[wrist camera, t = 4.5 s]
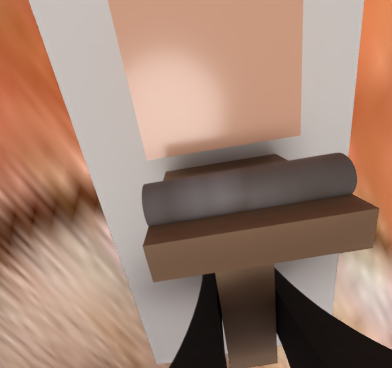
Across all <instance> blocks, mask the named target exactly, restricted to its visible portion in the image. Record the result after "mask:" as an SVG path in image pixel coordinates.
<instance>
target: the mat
mask: <svg viewBox="0 0 392 368" xmlns="http://www.w3.org/2000/svg"><path fill="white" fill-rule="evenodd" d="M29 2H30V5H31V8H32V11H33V14H34V16H35V19H36V22H37V25H38V28H39V31H40V34H41V36H42V39H43V42H44V45H45V48H46V51H47V53H48V56H49V59H50V62H51V65H52V68H53V70H54V73H55V76H56V79H57V82H58V85H59V88H60V90H61V93H62V96H63V99H64V102H65V105H66V107H67V110H68V113H69V116H70V119H71V122H72V124H73V127H74V130H75V133H76V136H77V139H78V141H79V144H80V147H81V150H82V153H83V156H84V159H85V161H86V164H87V167H88V170H89V173H90V176H91V178H92V181H93V184H94V187H95V190H96V193H97V195H98V198H99V201H100V204H101V207H102V210H103V213H104V215H105V218H106V221H107V224H108V227H109V230H110V232H111V235H112V238H113V241H114V244H115V247H116V249H117V252H118V255H119V258H120V261H121V264H122V267H123V269H124V272H125V275H126V278H127V281H128V284H129V286H130V289H131V292H132V295H133V298H134V301H135V303H136V306H137V309H138V312H139V315H140V318H141V321H142V323H143V326H144V329H145V332H146V335H147V338H148V340H149V343H150V346H151V349H152V352H153V355H154V357H155V360H156V363H157V365H158V364H165V363H171V362H172V361H173V360H174V358H175V356H176V354H177V352H178V350H179V348H180V346H181V344H182V341H183V339H184V337H185V335H186V332H187V330H188V327H189V325H190V322H191V320H192V317H193V314H194V311H195V307H196V304H197V301H198V297H199V292H200V288H201V283H202V275H198V276H191V277H185V278H179V279H172V280H166V281H160V282H153V280H152V277H151V273H150V270H149V266H148V263H147V260H146V256H145V253H144V249H143V243H144V240H145V237H146V233H147V230H148V225H147V223H146V220H145V217H144V212H143V207H142V187H143V185H144V184H147V183H154V182H160V181H163V179H164V175H165V172H167V171H173V170H179V169H185V168H191V167H197V166H204V165H210V164H216V163H222V162H228V161H234V160H240V159H246V158H252V157H259V156H265V155H271V154H277V155H279V156H281V157H283V158H285V159H287V160H294V159H301V158H307V157H313V156H319V155H325V154H331V153H343V154H345V155H346V156H347V157H348V154H349V145H350V135H351V125H352V115H353V105H354V96H355V86H356V76H357V66H358V56H359V46H360V37H361V27H362V17H363V7H364V0H303V41H302V90H301V135H300V136H294V137H288V138H282V139H275V140H269V141H263V142H257V143H251V144H245V145H239V146H233V147H226V148H220V149H214V150H208V151H202V152H196V153H190V154H184V155H178V156H171V157H165V158H159V159H153V160H147V159H146V155H145V151H144V147H143V143H142V139H141V135H140V131H139V126H138V122H137V118H136V114H135V110H134V106H133V102H132V98H131V94H130V90H129V86H128V81H127V77H126V73H125V69H124V65H123V61H122V57H121V53H120V49H119V45H118V40H117V36H116V32H115V28H114V24H113V20H112V16H111V12H110V8H109V4H108V0H29ZM337 263H338V253H337V254H331V255H324V256H318V257H312V258H305V259H299V260H293V261H286V262H280V263H274V267H275V268H276V269H277V270H278V271H279V272H280V273H281V274H282V275H283V276H284V277H285V278H286V279H287V280H288V281H289V282H290V283H291V284H293V285H294V286H295V287H296V288H297V289H298V290H299V291H300V292H302V293H303V294H304V295H305V296H306V297H308V298H309V299H310V300H311V301H313V302H314V303H315V304H317V305H318V306H319V307H321V308H322V309H323V310H325V311H326V312H328V313H329V314H331V315H332V312H333V302H334V292H335V282H336V272H337ZM222 324H223V322H222ZM223 336H224V348H225V354H228V351H227V345H226V339H225V333H224V328H223ZM277 346H282V344H281V342H280V340H279V337H278V335H277Z"/></svg>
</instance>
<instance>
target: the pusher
mask: <svg viewBox="0 0 392 368" xmlns="http://www.w3.org/2000/svg"><path fill="white" fill-rule="evenodd" d="M356 184H357V175H356V170H355V167H354V165H353V163H352V161H351V160H350V159H349V158H348V157H347V156H346V155H345V154H343V153H331V154H325V155H319V156H313V157H307V158H301V159H294V160H287V159H285V158H283V157H281V156H279V155H277V154H271V155H265V156H259V157H252V158H246V159H240V160H234V161H228V162H222V163H216V164H210V165H204V166H197V167H191V168H185V169H179V170H173V171H167V172H165V175H164V179H163V181H160V182H154V183H147V184H144V185H143V187H142V207H143V212H144V217H145V220H146V223H147V225H148V230H147V233H146V237H145V240H144V243H143V249H144V253H145V256H146V260H147V263H148V266H149V270H150V273H151V277H152V280H153V282H160V281H166V280H172V279H179V278H185V277H191V276H198V275H204V274H210V273H215V277H216V282H217V289H218V295H219V301H220V308H221V314H222V322H223V328H224V333H225V339H226V345H227V351H228V357H229V363H230V368H248V367H254V366H261V365H268V364H274V363H277V333H276V303H275V273H274V263H280V262H286V261H293V260H299V259H305V258H312V257H318V256H324V255H331V254H337V253H343V252H350V251H356V250H362V249H369V248H373V243H374V237H375V231H376V225H377V219H378V213H379V208H377V207H376V206H374V205H372V204H370V203H368V202H366V201H364V200H362V199H360V198H359V197H357V196H355V195H353V194H352V193H353V192H354V190H355V188H356Z"/></svg>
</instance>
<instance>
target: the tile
mask: <svg viewBox="0 0 392 368" xmlns="http://www.w3.org/2000/svg"><path fill="white" fill-rule="evenodd" d="M108 4H109V8H110V12H111V16H112V20H113V24H114V28H115V32H116V36H117V40H118V45H119V49H120V53H121V57H122V61H123V65H124V69H125V73H126V77H127V81H128V86H129V90H130V94H131V98H132V102H133V106H134V110H135V114H136V118H137V122H138V126H139V131H140V135H141V139H142V143H143V147H144V151H145V155H146V159H147V160H153V159H159V158H165V157H171V156H178V155H184V154H190V153H196V152H202V151H208V150H214V149H220V148H226V147H233V146H239V145H245V144H251V143H257V142H263V141H269V140H275V139H282V138H288V137H294V136H300V135H301V90H302V41H303V0H108Z"/></svg>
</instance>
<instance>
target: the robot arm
mask: <svg viewBox="0 0 392 368" xmlns="http://www.w3.org/2000/svg"><path fill="white" fill-rule="evenodd" d="M274 273H275V303H276V333H277V335H278V337H279V340H280V342H281V344H282V346H283V349H284V351H285V354H286V356H287V359H288V362H289V365H290V368H392V350H391V349H389V348H387V347H385V346H383V345H381V344H379V343H377V342H375V341H374V340H372V339H370V338H368V337H366V336H365V335H363V334H361V333H359V332H357V331H356V330H354V329H353V328H351V327H349V326H348V325H346V324H345V323H343V322H341V321H340V320H338V319H337V318H335V317H334V316H332V315H331V314H329V313H328V312H326V311H325V310H323V309H322V308H321V307H319V306H318V305H317V304H315V303H314V302H313V301H311V300H310V299H309V298H308V297H306V296H305V295H304V294H303V293H302V292H300V291H299V290H298V289H297V288H296V287H295V286H294V285H293V284H291V283H290V282H289V281H288V280H287V279H286V278H285V277H284V276H283V275H282V274H281V273H280V272H279V271H278V270H277V269H276V268H275V267H274ZM169 368H227V365H226V358H225V348H224V336H223V324H222V314H221V308H220V301H219V295H218V289H217V282H216V277H215V273H210V274H204V275H202V283H201V288H200V292H199V297H198V301H197V304H196V307H195V311H194V314H193V317H192V320H191V322H190V325H189V327H188V330H187V332H186V335H185V337H184V339H183V341H182V344H181V346H180V348H179V350H178V352H177V354H176V356H175V358H174V360H173V361H172V363H171V365H170V367H169Z"/></svg>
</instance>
